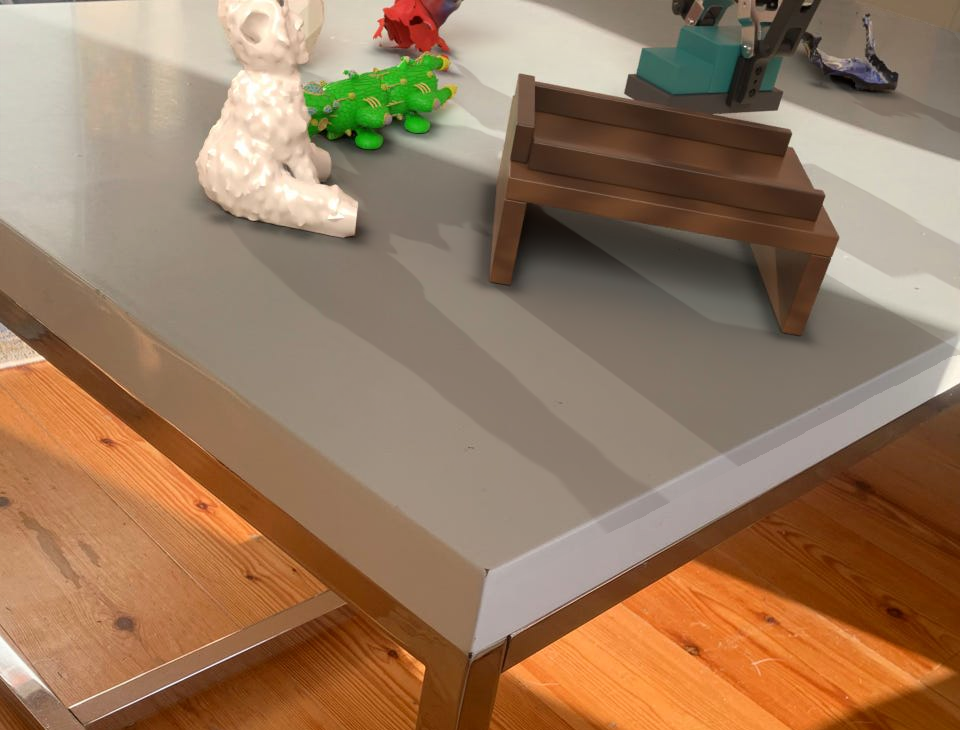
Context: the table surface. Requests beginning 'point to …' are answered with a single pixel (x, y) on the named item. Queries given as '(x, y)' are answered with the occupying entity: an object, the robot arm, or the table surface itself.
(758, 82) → the robot arm
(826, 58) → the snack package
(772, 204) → the shoe shelf
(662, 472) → the table surface
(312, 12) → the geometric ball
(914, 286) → the table surface
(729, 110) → the teal stepped block
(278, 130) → the white creature statuette
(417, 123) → the crocodile figurine
